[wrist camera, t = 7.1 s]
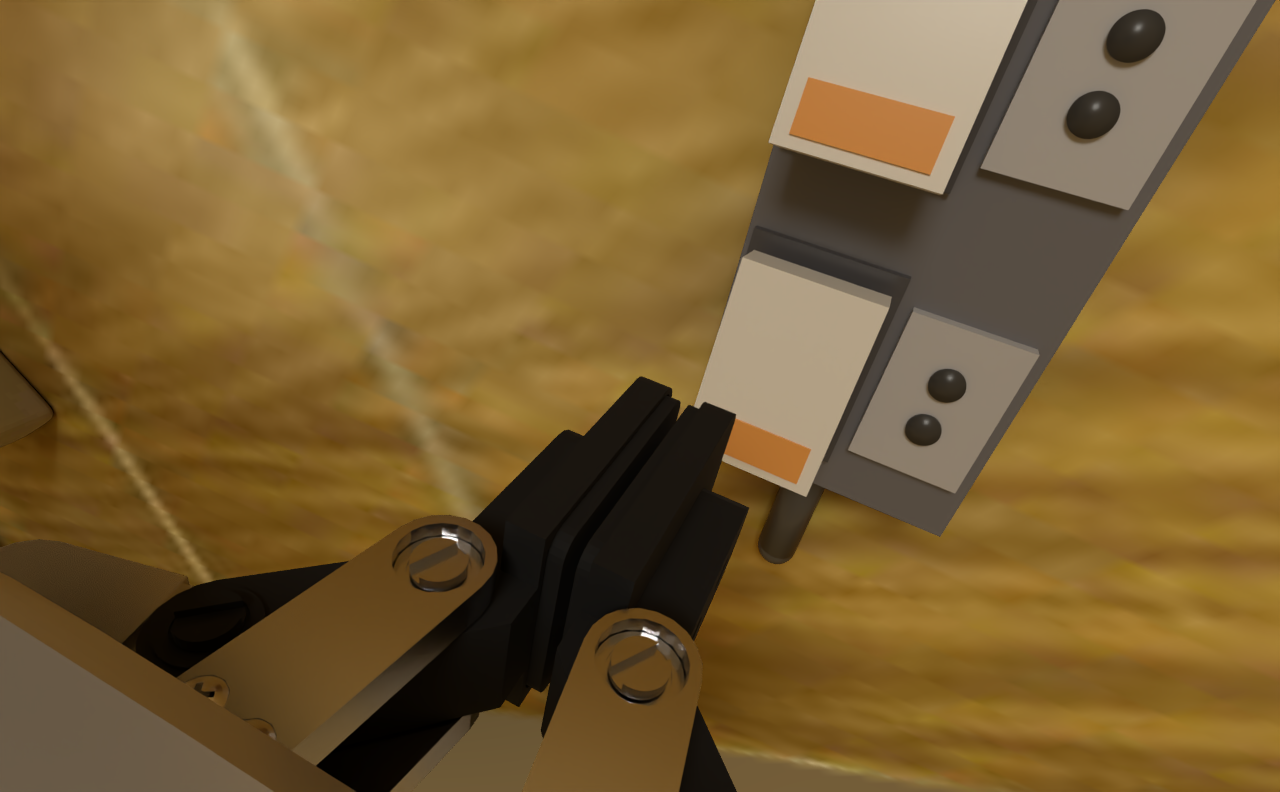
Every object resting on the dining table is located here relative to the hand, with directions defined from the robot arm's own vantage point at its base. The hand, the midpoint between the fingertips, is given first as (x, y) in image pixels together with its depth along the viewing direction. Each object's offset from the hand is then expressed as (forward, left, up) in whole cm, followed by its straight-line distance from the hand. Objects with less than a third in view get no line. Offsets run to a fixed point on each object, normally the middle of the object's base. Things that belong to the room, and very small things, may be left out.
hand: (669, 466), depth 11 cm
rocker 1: (+2, +1, -9) cm, 9 cm away
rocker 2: (-7, +1, -9) cm, 11 cm away
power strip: (+1, +3, -15) cm, 15 cm away
